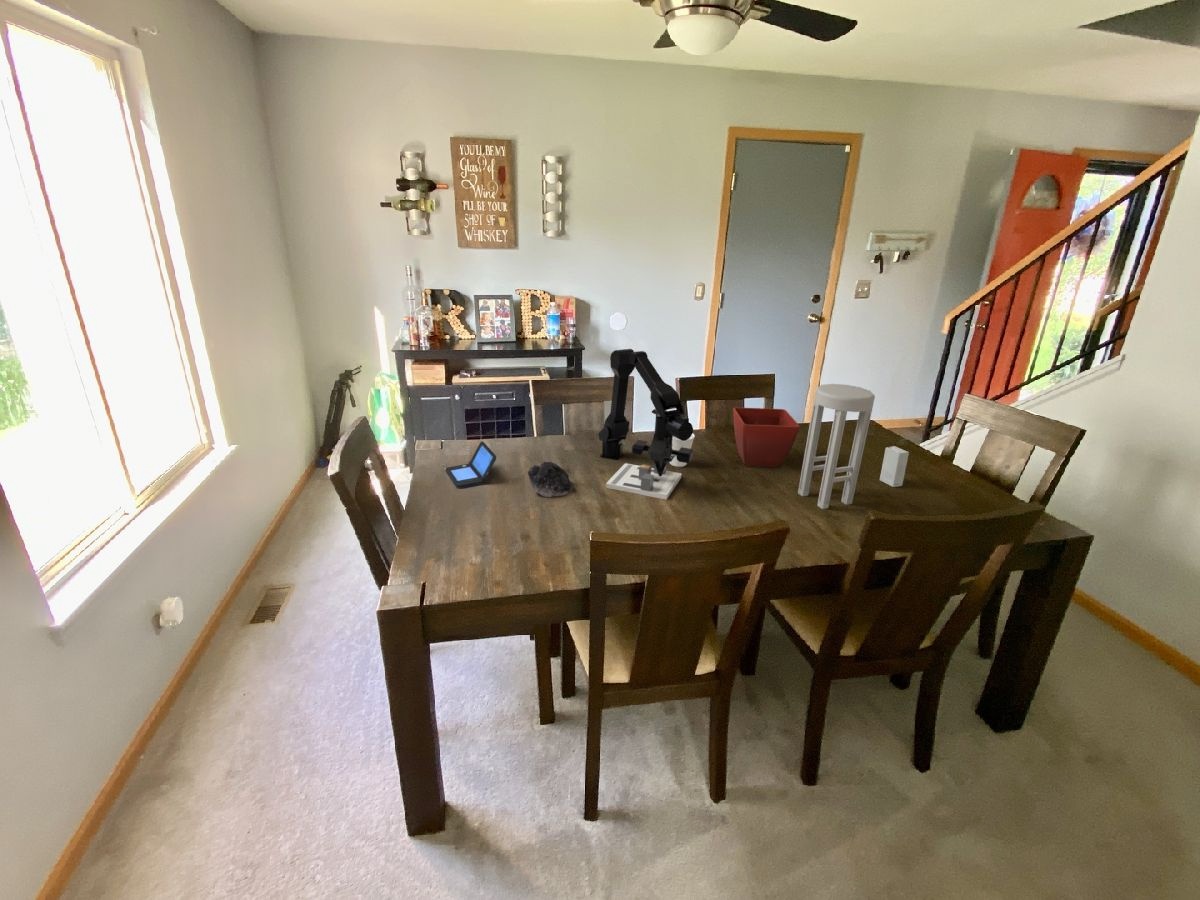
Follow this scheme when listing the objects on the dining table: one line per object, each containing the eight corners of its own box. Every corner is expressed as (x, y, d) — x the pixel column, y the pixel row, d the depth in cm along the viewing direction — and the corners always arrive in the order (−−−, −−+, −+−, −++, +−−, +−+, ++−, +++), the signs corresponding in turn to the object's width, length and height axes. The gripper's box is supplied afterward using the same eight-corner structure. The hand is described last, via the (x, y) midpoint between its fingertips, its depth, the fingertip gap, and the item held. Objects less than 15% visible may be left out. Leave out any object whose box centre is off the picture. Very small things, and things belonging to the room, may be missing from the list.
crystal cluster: (578, 485, 184) (576, 455, 181) (565, 500, 171) (563, 468, 169) (539, 482, 187) (537, 454, 185) (523, 497, 175) (521, 466, 172)
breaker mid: (638, 479, 184) (639, 467, 182) (642, 475, 187) (642, 463, 185) (647, 481, 183) (648, 469, 181) (650, 476, 186) (651, 465, 184)
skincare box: (902, 486, 188) (911, 452, 184) (892, 487, 187) (900, 453, 182) (888, 478, 193) (895, 445, 189) (877, 480, 192) (885, 446, 188)
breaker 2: (653, 472, 189) (654, 461, 187) (656, 468, 192) (657, 458, 190) (662, 474, 188) (663, 463, 186) (665, 470, 191) (666, 459, 189)
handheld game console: (444, 471, 190) (442, 445, 186) (483, 465, 196) (482, 439, 192) (457, 490, 177) (455, 462, 174) (498, 482, 183) (497, 455, 180)
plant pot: (793, 472, 197) (801, 426, 190) (738, 470, 197) (744, 424, 191) (778, 451, 214) (785, 408, 208) (727, 449, 215) (732, 407, 208)
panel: (605, 487, 181) (606, 483, 180) (624, 467, 196) (625, 463, 196) (666, 499, 174) (666, 495, 174) (681, 477, 190) (681, 473, 189)
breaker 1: (640, 489, 177) (641, 477, 175) (644, 485, 180) (644, 473, 178) (649, 491, 176) (650, 479, 174) (653, 486, 179) (654, 475, 177)
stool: (788, 491, 182) (805, 385, 169) (826, 485, 187) (846, 381, 174) (821, 513, 169) (843, 400, 156) (862, 505, 174) (886, 395, 161)
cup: (691, 459, 205) (694, 430, 201) (692, 470, 196) (695, 440, 191) (663, 457, 206) (666, 429, 201) (664, 468, 196) (666, 438, 192)
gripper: (627, 433, 173) (624, 480, 179) (687, 443, 166) (682, 491, 172) (638, 422, 182) (635, 467, 188) (695, 431, 176) (691, 477, 182)
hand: (660, 475), depth 182 cm, fingers closed
